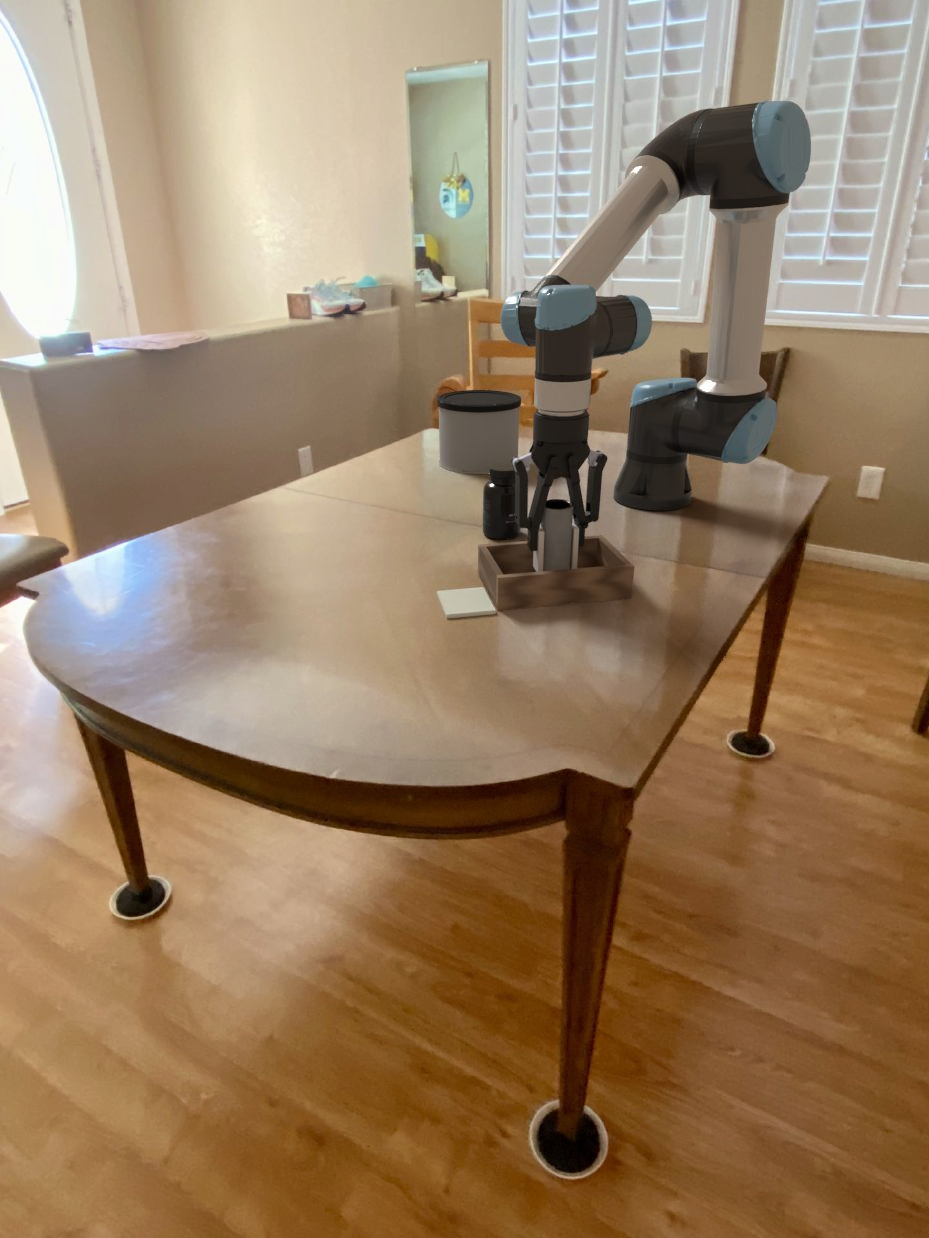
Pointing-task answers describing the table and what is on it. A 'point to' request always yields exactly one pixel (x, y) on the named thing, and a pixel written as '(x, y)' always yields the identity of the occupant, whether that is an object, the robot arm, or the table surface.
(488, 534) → the supplement bottle
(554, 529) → the gray cylindrical cup
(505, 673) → the table surface
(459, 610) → the coaster
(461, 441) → the container
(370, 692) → the table surface
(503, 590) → the box frame
